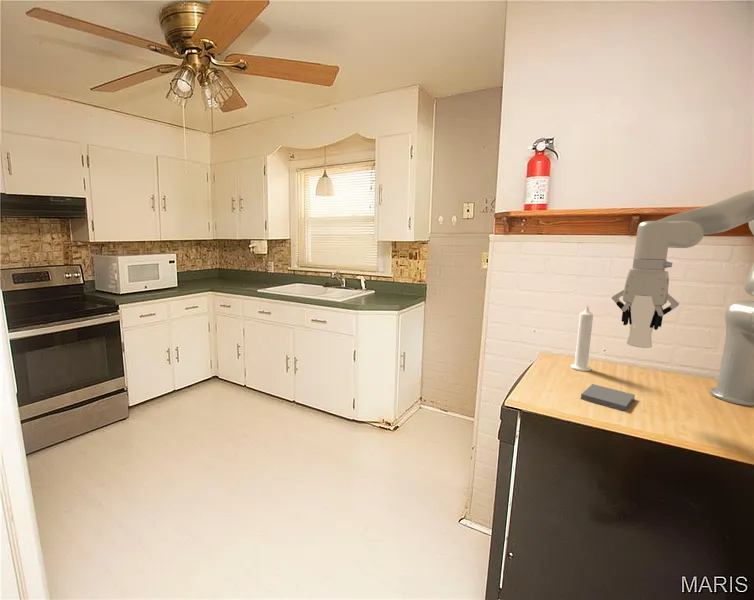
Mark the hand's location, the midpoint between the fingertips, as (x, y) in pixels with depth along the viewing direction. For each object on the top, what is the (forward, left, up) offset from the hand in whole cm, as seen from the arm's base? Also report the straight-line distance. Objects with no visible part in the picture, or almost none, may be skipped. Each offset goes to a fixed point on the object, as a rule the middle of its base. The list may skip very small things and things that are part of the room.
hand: (640, 326), depth 109 cm
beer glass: (0, 0, -6) cm, 6 cm away
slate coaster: (+6, -1, -25) cm, 26 cm away
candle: (+21, -26, -25) cm, 42 cm away
